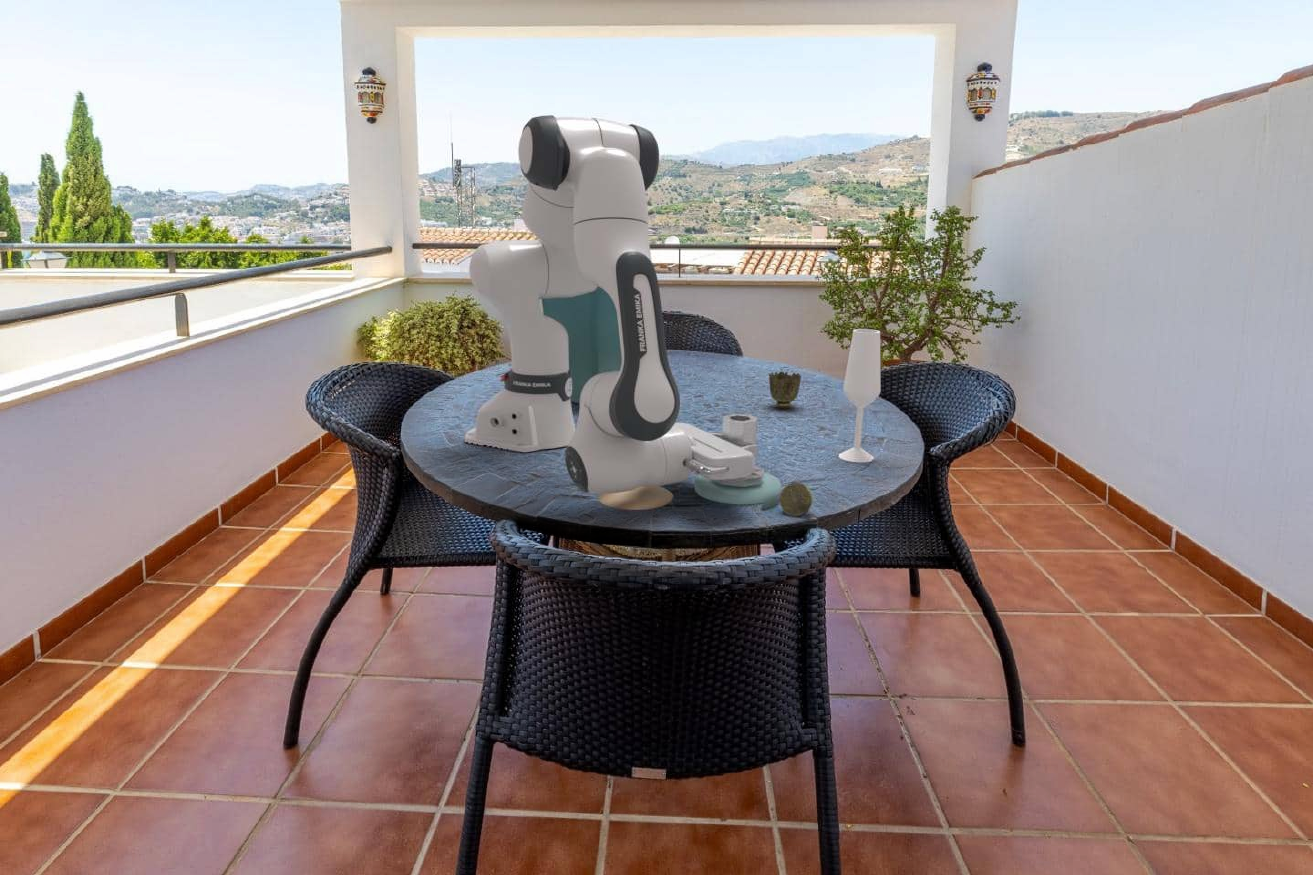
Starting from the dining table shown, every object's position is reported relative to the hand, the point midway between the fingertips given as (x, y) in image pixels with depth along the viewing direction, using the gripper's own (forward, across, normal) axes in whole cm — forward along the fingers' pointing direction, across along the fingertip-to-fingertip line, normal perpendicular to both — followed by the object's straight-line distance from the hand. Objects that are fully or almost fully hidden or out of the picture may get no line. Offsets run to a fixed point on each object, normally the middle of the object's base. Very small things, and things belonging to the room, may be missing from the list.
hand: (743, 443), depth 134 cm
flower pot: (+7, +70, +9) cm, 71 cm away
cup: (+43, +45, +9) cm, 63 cm away
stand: (-17, +5, +9) cm, 20 cm away
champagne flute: (+32, +8, +9) cm, 34 cm away
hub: (-1, 0, +9) cm, 9 cm away
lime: (+3, -11, +9) cm, 14 cm away
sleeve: (-1, 0, +6) cm, 6 cm away
